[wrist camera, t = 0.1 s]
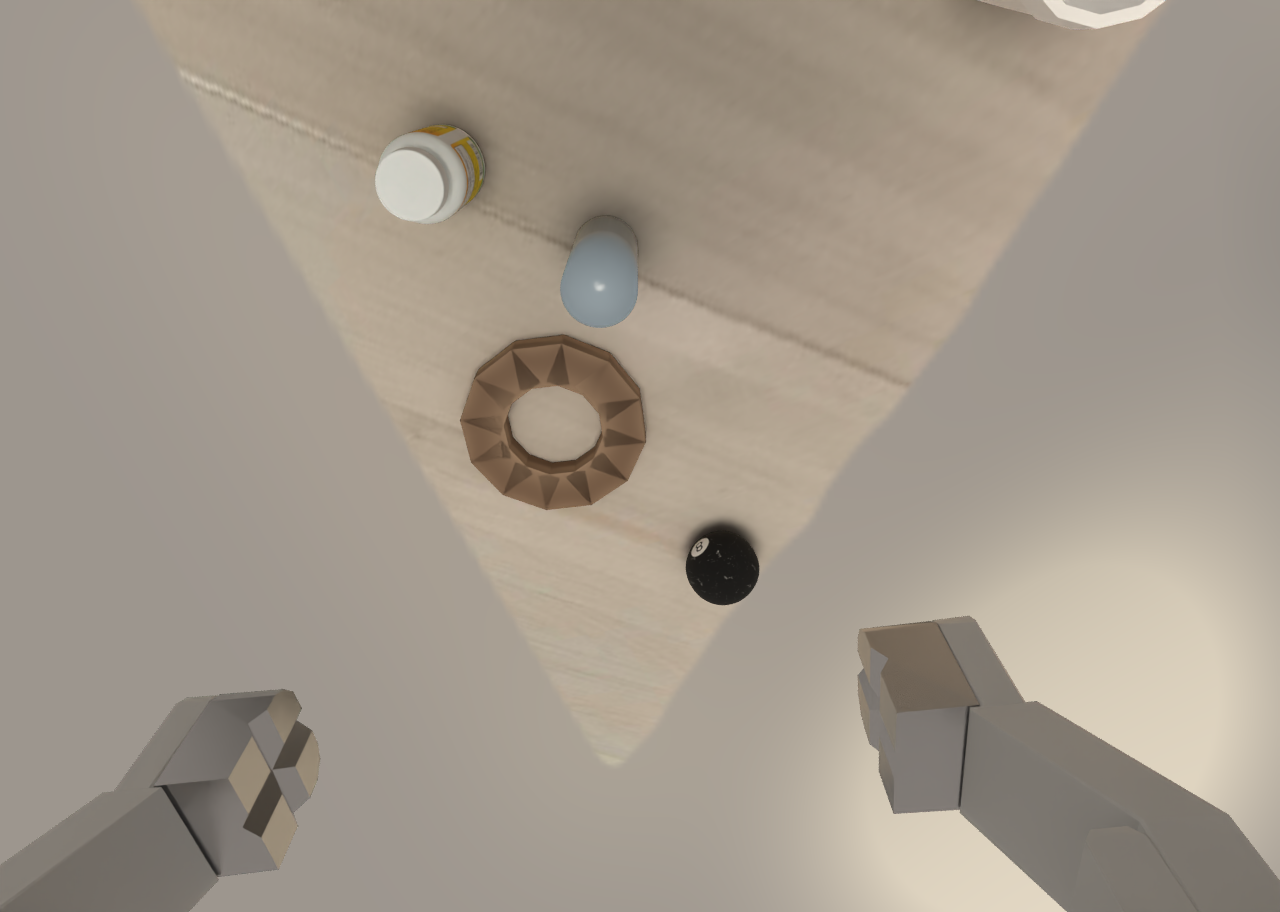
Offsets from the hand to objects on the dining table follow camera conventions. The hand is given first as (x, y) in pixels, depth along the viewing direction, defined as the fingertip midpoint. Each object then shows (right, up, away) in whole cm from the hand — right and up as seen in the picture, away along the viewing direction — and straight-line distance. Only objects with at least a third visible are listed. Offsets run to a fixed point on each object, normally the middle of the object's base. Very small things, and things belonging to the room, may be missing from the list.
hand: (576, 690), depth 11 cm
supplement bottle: (-12, +23, +42) cm, 50 cm away
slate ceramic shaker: (-2, +18, +45) cm, 48 cm away
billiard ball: (+8, -5, +57) cm, 58 cm away
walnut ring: (-6, +6, +51) cm, 52 cm away
